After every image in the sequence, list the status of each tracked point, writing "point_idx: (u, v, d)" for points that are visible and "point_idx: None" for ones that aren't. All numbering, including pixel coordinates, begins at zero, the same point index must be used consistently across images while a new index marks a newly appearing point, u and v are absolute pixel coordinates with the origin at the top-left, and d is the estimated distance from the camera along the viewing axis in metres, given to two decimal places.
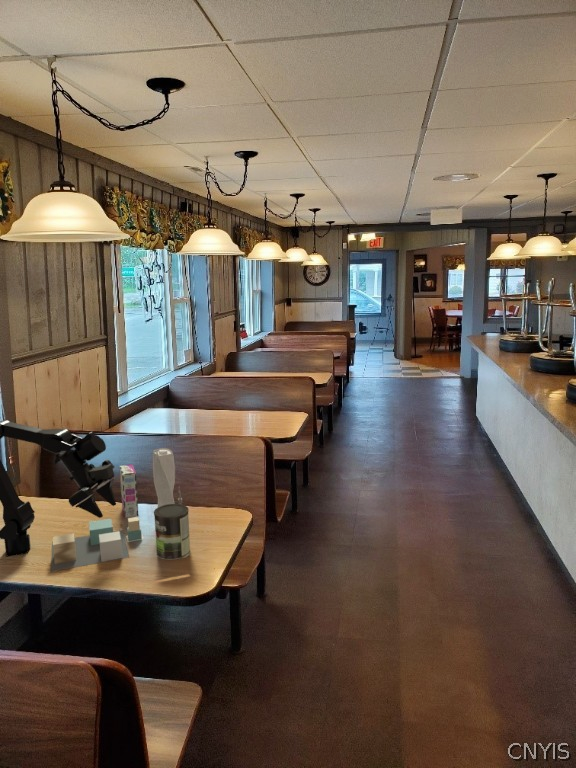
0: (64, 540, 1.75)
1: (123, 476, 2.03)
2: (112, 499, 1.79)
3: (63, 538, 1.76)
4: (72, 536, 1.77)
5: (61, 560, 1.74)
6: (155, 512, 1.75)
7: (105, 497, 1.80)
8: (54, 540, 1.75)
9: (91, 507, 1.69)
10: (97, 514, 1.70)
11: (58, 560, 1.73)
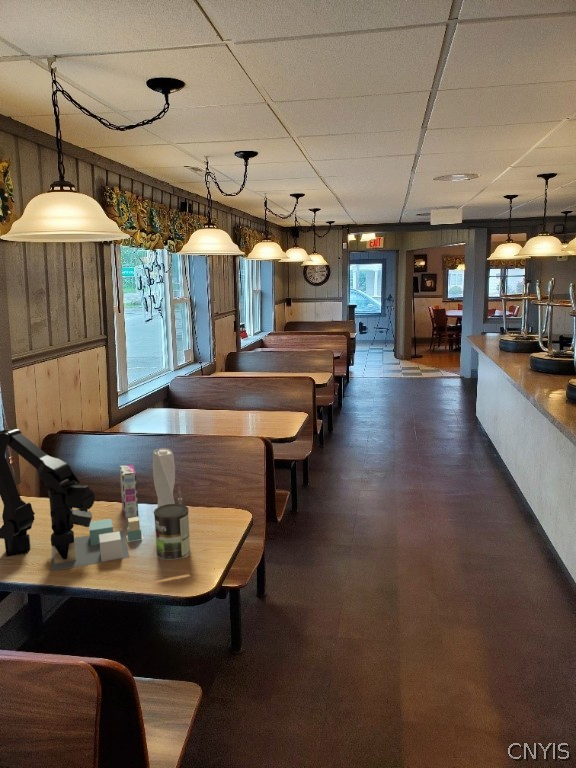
0: None
1: (123, 476, 2.03)
2: None
3: None
4: None
5: (61, 560, 1.74)
6: (155, 512, 1.75)
7: None
8: None
9: (63, 548, 1.72)
10: (64, 555, 1.73)
11: (58, 560, 1.73)
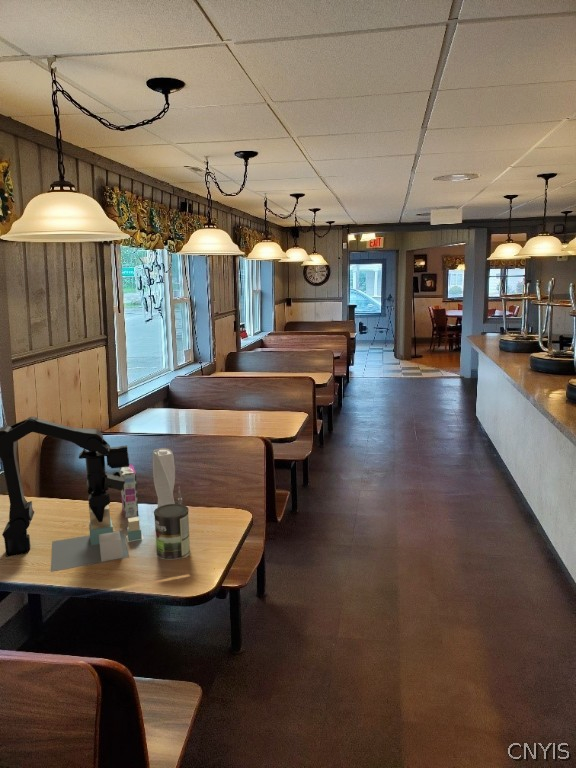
0: None
1: (123, 476, 2.03)
2: None
3: None
4: None
5: (97, 526, 1.85)
6: (155, 512, 1.75)
7: None
8: (90, 508, 1.86)
9: (99, 511, 1.82)
10: (99, 518, 1.83)
11: (94, 526, 1.85)
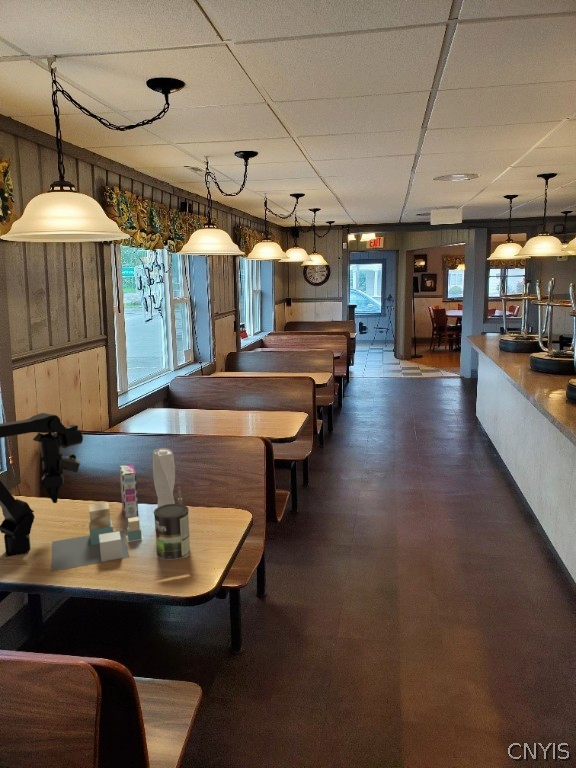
0: (99, 508, 1.86)
1: (123, 476, 2.03)
2: None
3: (98, 506, 1.87)
4: (106, 504, 1.88)
5: (97, 526, 1.85)
6: (155, 512, 1.75)
7: None
8: (90, 508, 1.86)
9: (53, 492, 1.85)
10: (54, 499, 1.86)
11: (94, 526, 1.85)
